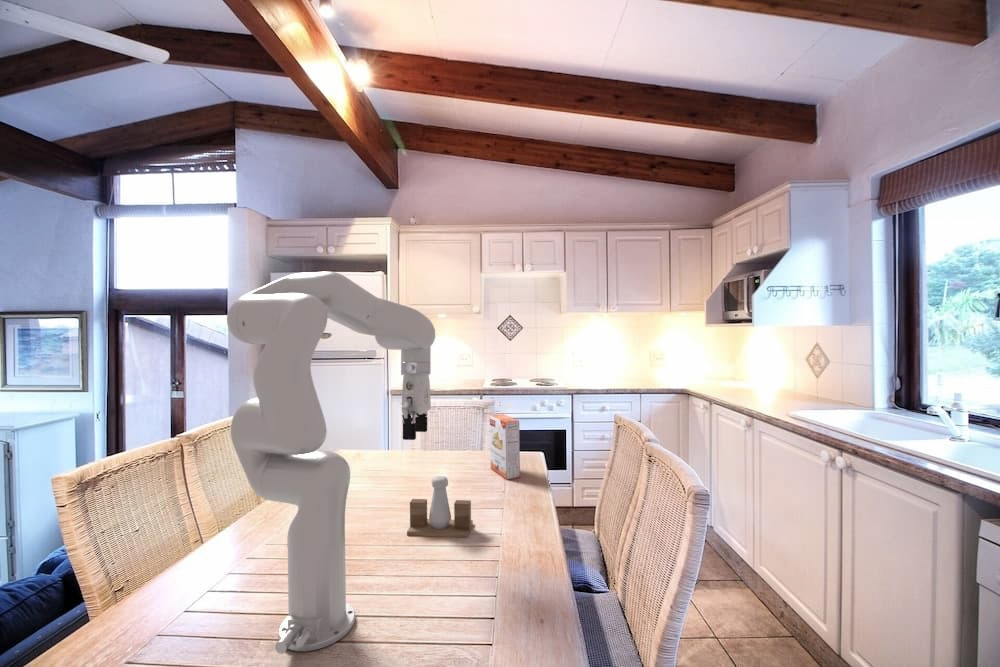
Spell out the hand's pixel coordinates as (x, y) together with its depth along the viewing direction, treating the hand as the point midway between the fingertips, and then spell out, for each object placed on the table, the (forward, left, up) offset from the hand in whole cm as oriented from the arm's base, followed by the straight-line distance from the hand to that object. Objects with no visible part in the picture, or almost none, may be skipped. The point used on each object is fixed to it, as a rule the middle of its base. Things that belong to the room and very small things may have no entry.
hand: (415, 435), depth 113 cm
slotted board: (+5, -5, -26) cm, 27 cm away
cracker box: (+52, -18, -27) cm, 61 cm away
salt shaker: (+4, -5, -25) cm, 26 cm away
